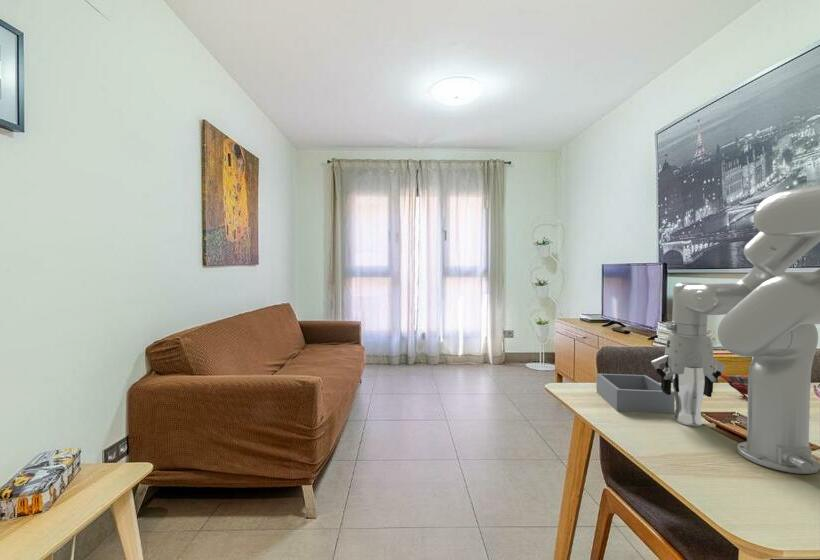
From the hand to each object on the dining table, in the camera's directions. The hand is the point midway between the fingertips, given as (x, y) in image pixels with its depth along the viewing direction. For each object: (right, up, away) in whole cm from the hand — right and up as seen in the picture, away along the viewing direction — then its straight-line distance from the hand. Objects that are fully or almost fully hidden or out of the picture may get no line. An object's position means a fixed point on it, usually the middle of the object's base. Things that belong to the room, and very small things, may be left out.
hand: (686, 394), depth 105 cm
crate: (-6, -7, +16) cm, 18 cm away
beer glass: (0, -7, 0) cm, 7 cm away
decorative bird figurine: (+30, -7, +19) cm, 37 cm away
